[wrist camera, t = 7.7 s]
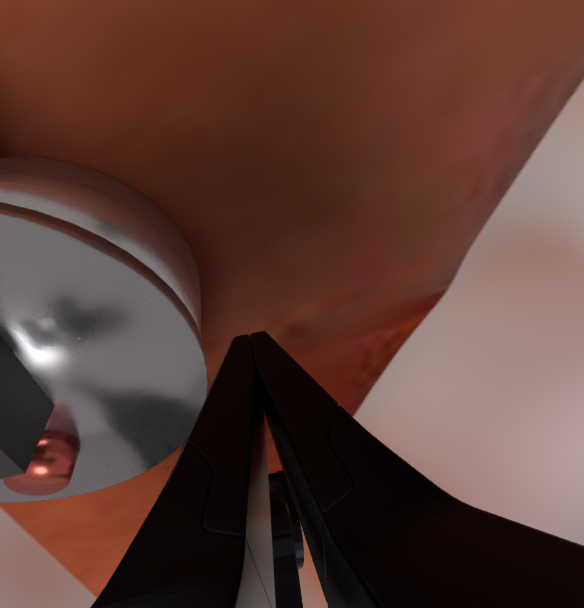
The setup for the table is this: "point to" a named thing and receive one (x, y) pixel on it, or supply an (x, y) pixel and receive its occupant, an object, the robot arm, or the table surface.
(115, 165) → the table surface
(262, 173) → the table surface
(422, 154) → the table surface
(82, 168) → the cooker pot
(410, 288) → the table surface
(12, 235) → the cooker lid
